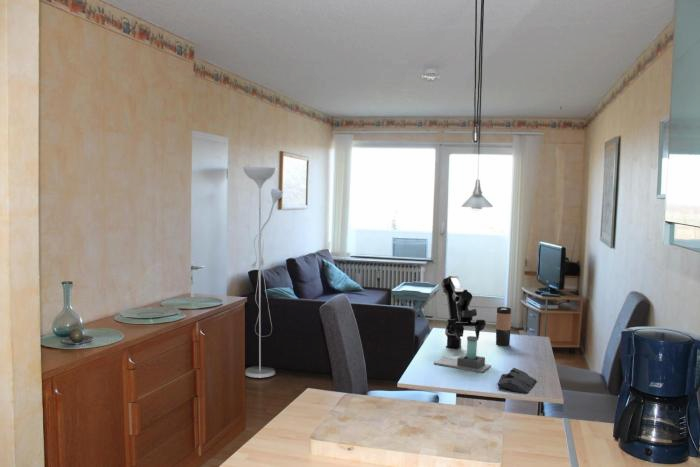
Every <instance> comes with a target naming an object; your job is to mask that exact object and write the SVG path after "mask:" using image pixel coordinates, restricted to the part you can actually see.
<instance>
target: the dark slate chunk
mask: <svg viewBox="0 0 700 467" xmlns="http://www.w3.org/2000/svg"><path fill="white" fill-rule="evenodd" d="M537 383H538V380H537V379H536V378H534V377H532V376H530V375H529V374H528V373H527V372H525V371H523V370H521V369H518V368H516V367H512V369H510V370H509V372H508V373H503V374H501V375H500V378H499V379H498V382H497V386H498V388H500V389H504V390H507V389H508V390H509V391H513V392H515V393H516V392H517V393H520V394H529V393H530V392H531V391H532V389H534V387H535V385H536V384H537Z"/></svg>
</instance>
